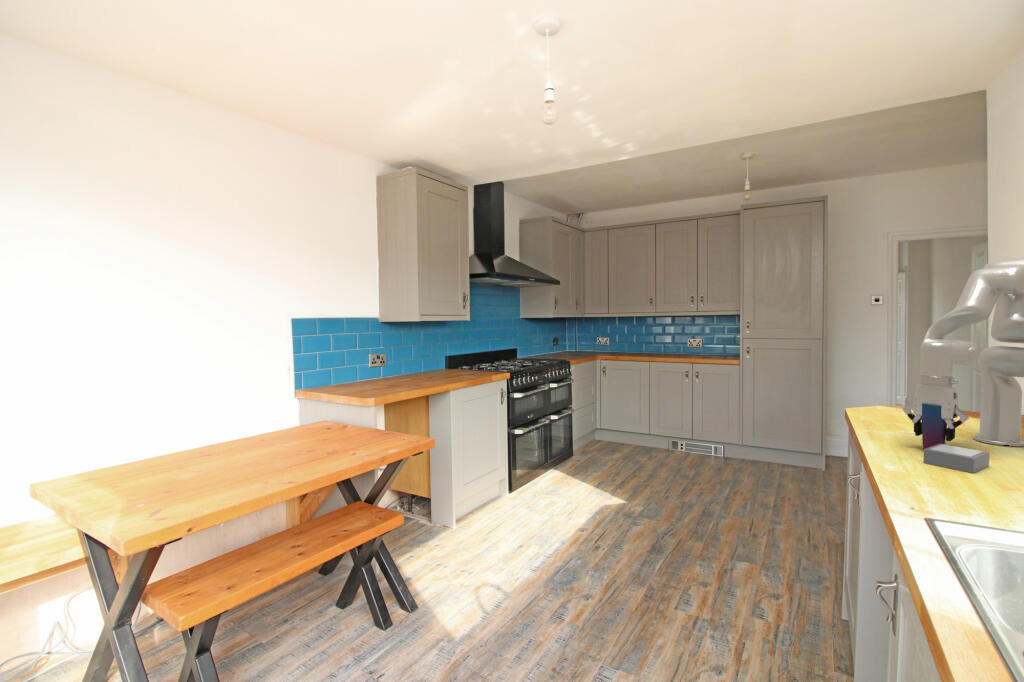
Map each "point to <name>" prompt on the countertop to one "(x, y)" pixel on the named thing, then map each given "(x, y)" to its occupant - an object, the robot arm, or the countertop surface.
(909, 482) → the countertop surface
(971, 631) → the countertop surface
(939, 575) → the countertop surface
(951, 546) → the countertop surface
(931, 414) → the cup
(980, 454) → the riser
